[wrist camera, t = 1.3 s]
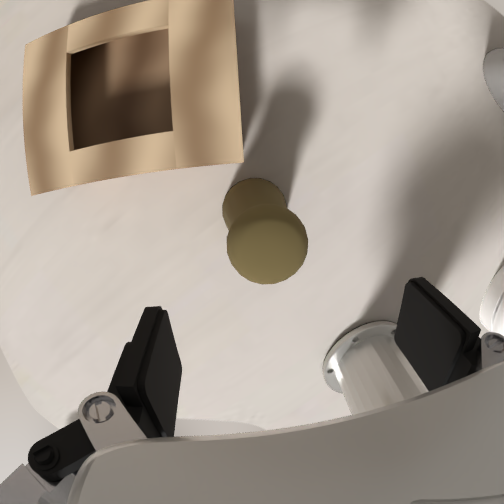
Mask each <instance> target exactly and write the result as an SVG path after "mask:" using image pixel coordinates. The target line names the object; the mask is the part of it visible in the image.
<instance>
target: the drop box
mask: <svg viewBox="0 0 504 504" xmlns="http://www.w3.org/2000/svg"><path fill="white" fill-rule="evenodd" d="M23 128H24V142H25V153H26V162H27V170H28V178H29V184H30V190H31V196H33V195H37V194H41V193H45V192H49V191H53V190H58V189H62V188H66V187H71V186H76V185H81V184H86V183H91V182H96V181H101V180H107V179H112V178H118V177H124V176H130V175H136V174H143V173H150V172H157V171H164V170H172V169H180V168H189V167H198V166H208V165H218V164H230V163H243V162H244V157H243V142H242V126H241V111H240V95H239V80H238V64H237V48H236V32H235V16H234V0H148V1H144V2H139V3H135V4H131V5H127V6H124V7H120V8H116V9H113V10H110V11H106V12H103V13H100V14H97V15H94V16H91V17H88V18H85V19H83V20H80V21H77V22H75V23H72V24H70V25H67V26H65V27H62V28H60V29H58V30H55V31H53V32H51V33H49V34H46V35H44V36H42V37H40V38H38V39H36V40H34V41H32V42H30V43H28V44H26V45H25V55H24V69H23Z"/></svg>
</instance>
